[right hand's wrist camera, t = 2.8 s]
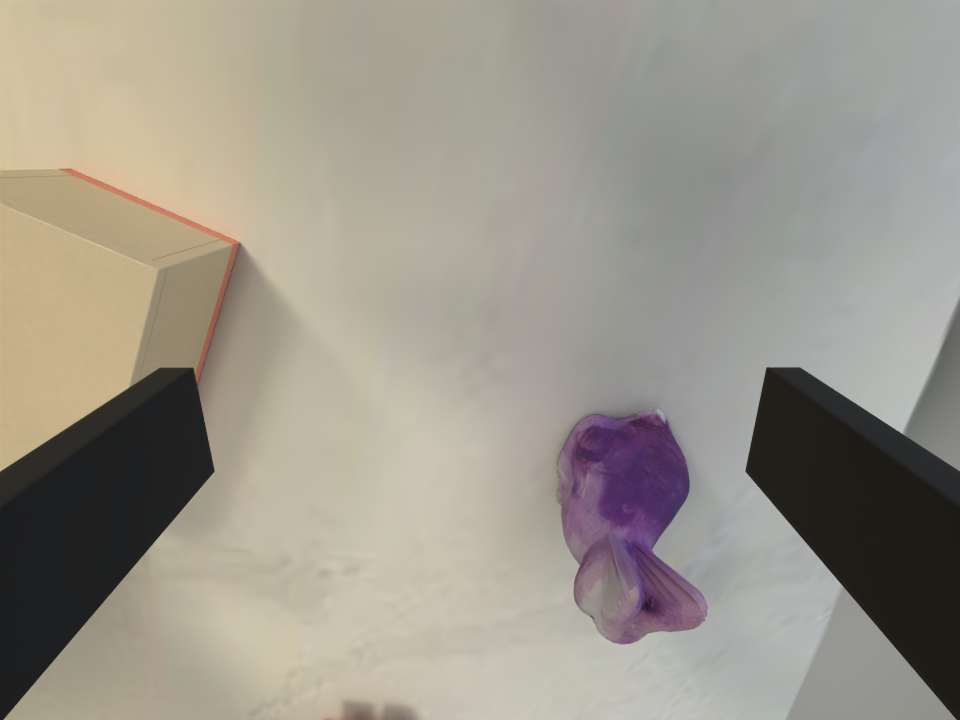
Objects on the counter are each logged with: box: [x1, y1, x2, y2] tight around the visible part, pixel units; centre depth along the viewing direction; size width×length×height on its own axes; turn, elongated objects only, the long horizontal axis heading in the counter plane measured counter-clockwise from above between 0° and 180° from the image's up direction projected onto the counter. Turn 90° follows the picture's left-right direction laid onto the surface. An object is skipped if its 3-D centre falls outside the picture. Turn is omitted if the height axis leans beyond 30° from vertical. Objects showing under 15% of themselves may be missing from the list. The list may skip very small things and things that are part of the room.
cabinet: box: [0, 169, 240, 471], centre depth 32 cm, size 18×11×9 cm, turn 155°
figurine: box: [557, 408, 708, 644], centre depth 33 cm, size 9×10×15 cm
